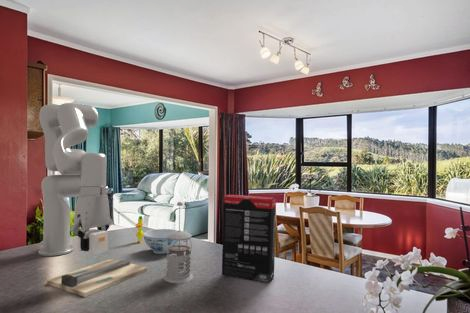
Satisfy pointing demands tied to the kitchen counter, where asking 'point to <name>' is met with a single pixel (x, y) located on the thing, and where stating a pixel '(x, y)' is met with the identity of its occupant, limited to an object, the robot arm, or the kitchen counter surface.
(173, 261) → the french press
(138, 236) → the toy figure
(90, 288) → the din panel
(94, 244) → the block
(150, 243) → the chinaware
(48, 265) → the kitchen counter surface
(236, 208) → the graphics card box
